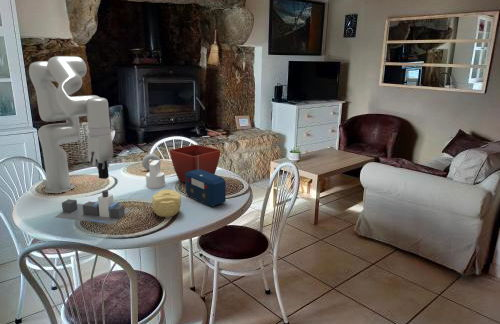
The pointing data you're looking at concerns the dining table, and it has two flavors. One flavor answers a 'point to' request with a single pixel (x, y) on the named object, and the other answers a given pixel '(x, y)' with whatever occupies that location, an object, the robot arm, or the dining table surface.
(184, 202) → the dining table surface
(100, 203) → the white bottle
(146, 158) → the donut
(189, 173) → the radio
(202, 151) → the plant pot
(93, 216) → the grey toy block board
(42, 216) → the dining table surface
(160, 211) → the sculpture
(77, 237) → the dining table surface
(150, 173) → the cylinder with rectangular tab
